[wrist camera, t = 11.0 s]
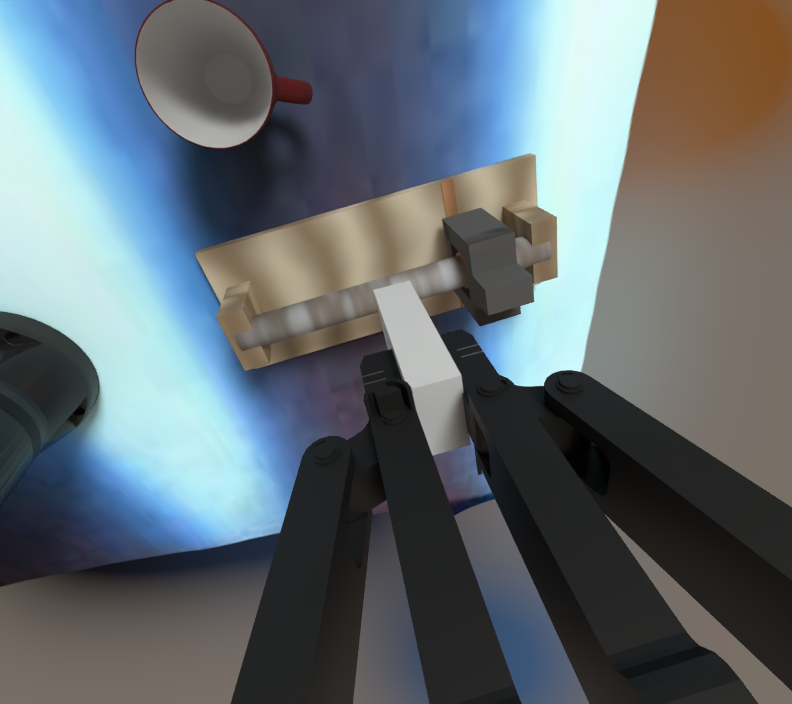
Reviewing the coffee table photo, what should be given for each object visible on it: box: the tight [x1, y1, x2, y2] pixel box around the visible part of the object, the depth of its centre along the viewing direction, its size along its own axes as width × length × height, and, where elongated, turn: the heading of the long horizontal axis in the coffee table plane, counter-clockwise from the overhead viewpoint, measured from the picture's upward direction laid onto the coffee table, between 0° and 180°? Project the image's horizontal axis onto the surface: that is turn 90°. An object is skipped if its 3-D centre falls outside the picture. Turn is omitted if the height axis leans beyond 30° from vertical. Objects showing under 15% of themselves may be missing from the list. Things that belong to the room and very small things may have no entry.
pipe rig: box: [195, 153, 558, 371], centre depth 42 cm, size 34×14×8 cm, turn 104°
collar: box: [442, 208, 534, 326], centre depth 40 cm, size 4×8×11 cm, turn 14°
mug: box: [135, 0, 312, 149], centre depth 31 cm, size 11×8×10 cm
